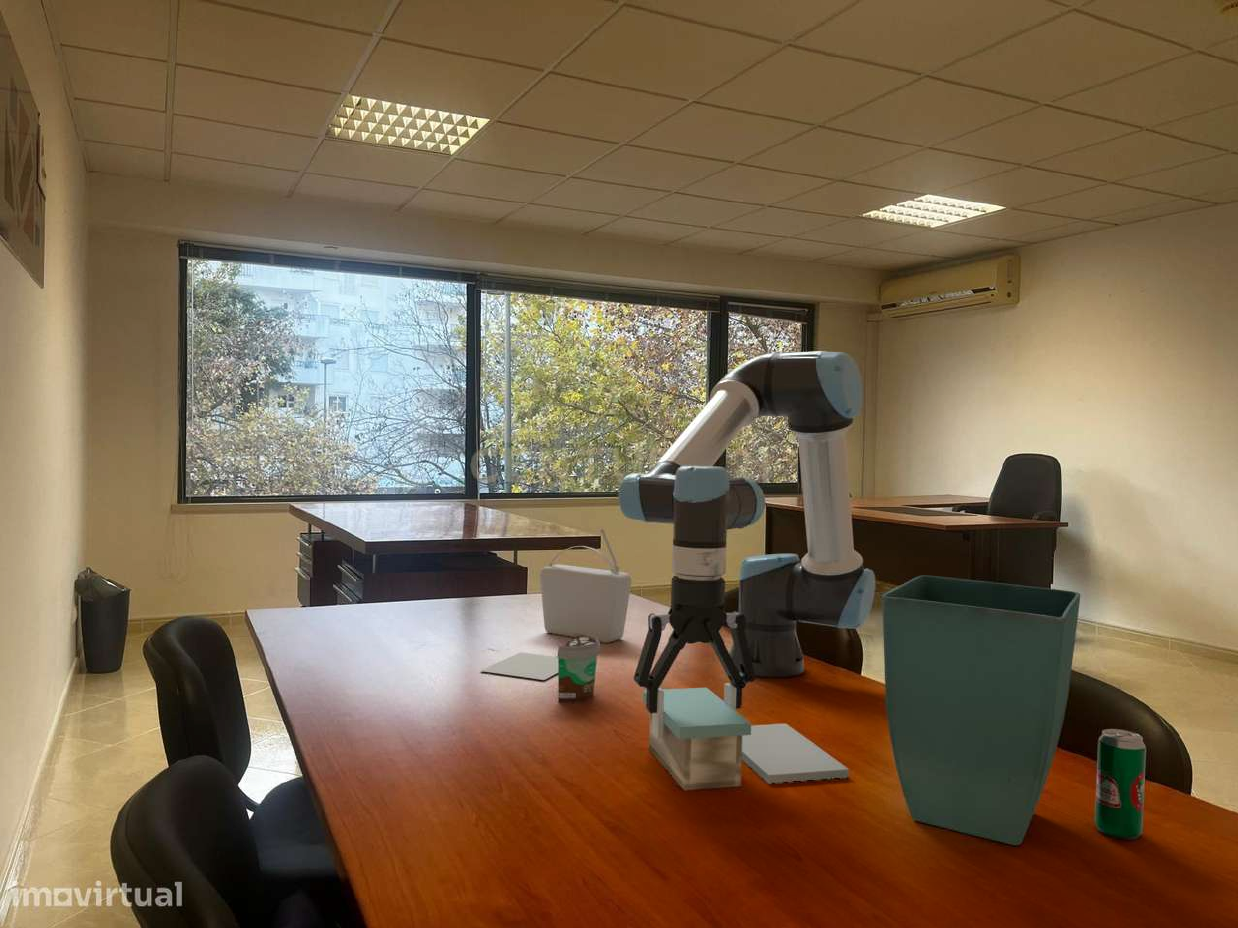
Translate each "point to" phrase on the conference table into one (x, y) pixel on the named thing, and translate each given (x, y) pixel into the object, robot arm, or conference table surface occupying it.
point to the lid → (700, 714)
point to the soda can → (1120, 784)
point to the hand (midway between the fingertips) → (693, 732)
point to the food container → (577, 668)
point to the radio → (585, 599)
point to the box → (699, 759)
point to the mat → (787, 756)
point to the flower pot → (976, 698)
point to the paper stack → (526, 666)
